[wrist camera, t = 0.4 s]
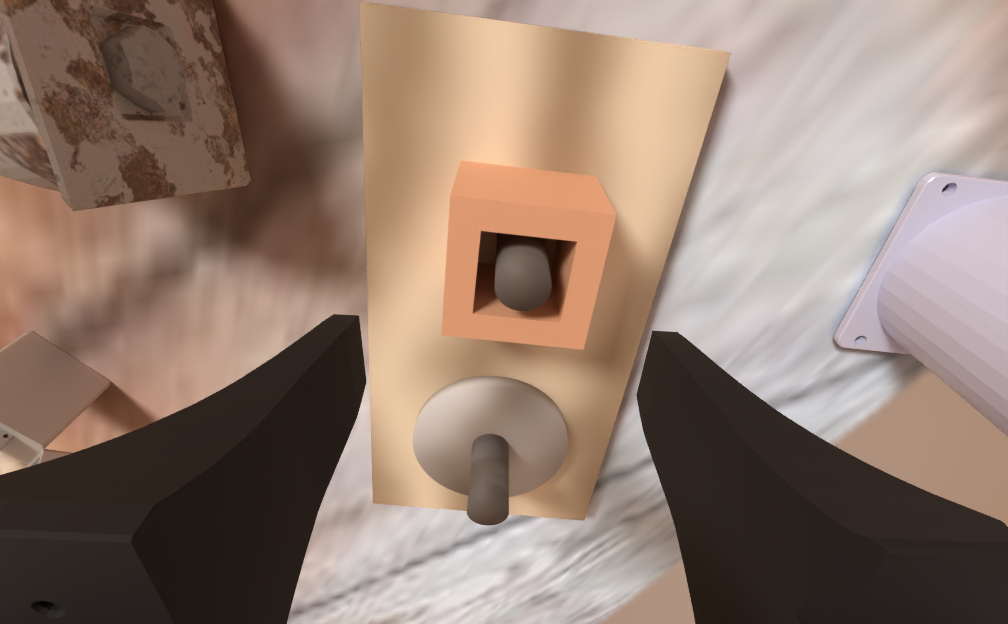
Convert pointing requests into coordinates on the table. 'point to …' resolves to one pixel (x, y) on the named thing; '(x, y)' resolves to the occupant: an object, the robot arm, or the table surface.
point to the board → (529, 130)
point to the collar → (528, 212)
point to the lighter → (41, 396)
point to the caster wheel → (117, 100)
